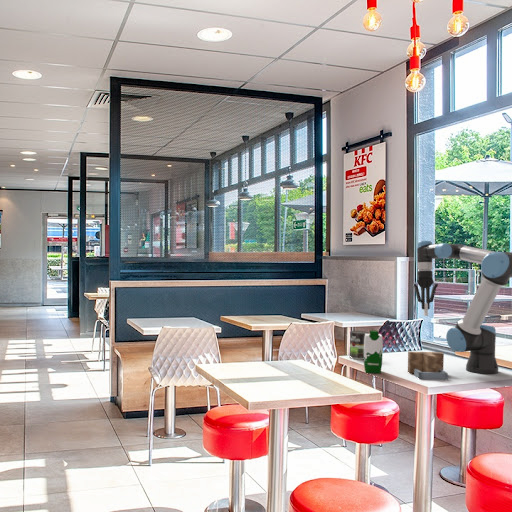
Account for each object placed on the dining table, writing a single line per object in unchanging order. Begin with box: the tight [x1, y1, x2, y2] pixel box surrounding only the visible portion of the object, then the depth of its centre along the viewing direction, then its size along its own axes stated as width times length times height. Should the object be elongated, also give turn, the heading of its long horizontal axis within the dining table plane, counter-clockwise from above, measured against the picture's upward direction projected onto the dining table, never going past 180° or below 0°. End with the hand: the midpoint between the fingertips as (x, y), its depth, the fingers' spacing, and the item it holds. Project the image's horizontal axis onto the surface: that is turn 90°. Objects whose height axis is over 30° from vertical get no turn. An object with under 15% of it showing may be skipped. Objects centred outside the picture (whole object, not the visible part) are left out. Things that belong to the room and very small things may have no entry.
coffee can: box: [349, 330, 370, 360], centre depth 335 cm, size 10×10×14 cm
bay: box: [413, 369, 448, 380], centre depth 286 cm, size 13×9×3 cm
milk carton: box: [363, 330, 384, 374], centre depth 296 cm, size 9×9×20 cm
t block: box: [407, 351, 445, 374], centre depth 292 cm, size 16×12×10 cm
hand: (425, 315), depth 320 cm, fingers closed
